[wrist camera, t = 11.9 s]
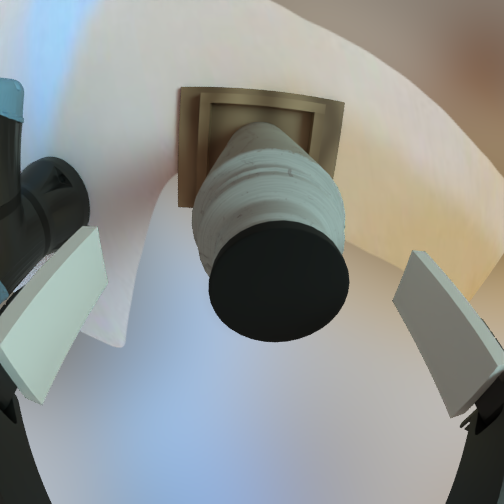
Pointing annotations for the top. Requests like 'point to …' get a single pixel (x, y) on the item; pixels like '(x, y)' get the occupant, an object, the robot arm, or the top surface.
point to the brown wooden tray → (244, 112)
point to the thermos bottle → (271, 237)
